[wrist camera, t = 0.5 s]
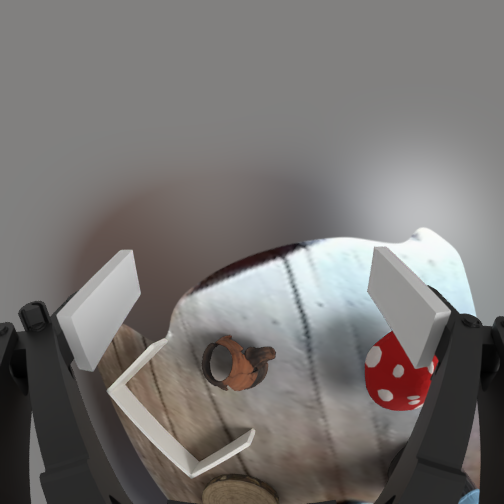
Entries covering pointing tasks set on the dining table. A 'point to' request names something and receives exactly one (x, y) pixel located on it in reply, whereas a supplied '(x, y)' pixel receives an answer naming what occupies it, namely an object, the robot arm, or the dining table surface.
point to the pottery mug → (239, 365)
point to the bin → (158, 433)
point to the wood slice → (238, 491)
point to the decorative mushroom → (396, 376)
